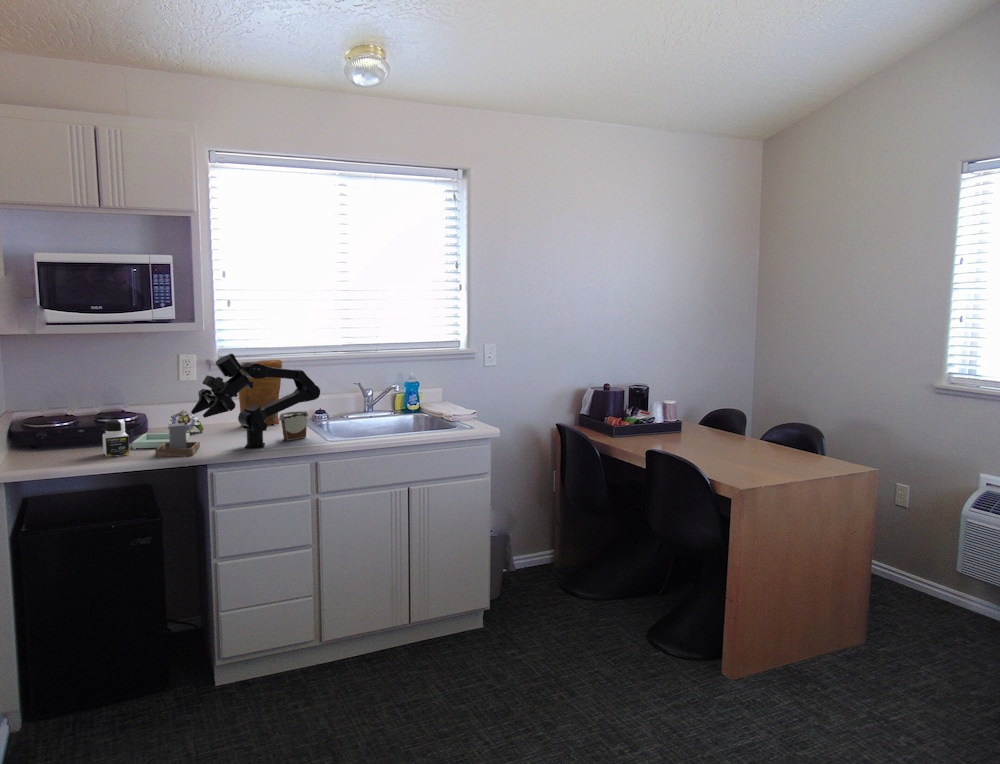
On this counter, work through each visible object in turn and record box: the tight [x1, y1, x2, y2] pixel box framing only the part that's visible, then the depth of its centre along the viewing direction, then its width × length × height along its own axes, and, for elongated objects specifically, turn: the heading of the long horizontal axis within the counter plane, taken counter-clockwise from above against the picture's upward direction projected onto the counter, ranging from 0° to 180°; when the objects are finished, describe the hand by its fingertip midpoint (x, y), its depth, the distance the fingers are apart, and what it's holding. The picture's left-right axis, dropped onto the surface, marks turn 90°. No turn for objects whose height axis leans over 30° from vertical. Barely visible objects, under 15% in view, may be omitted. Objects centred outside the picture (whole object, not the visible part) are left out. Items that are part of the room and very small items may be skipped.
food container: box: [278, 410, 309, 442], centre depth 285 cm, size 12×6×10 cm, turn 146°
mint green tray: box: [131, 432, 191, 450], centre depth 271 cm, size 16×16×3 cm
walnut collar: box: [154, 441, 201, 457], centre depth 258 cm, size 12×12×2 cm
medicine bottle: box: [102, 419, 130, 457], centre depth 253 cm, size 7×7×12 cm
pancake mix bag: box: [237, 359, 283, 427], centre depth 310 cm, size 7×19×28 cm, turn 124°
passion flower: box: [167, 408, 204, 433], centre depth 291 cm, size 11×11×12 cm
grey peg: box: [168, 423, 187, 449], centre depth 258 cm, size 5×5×10 cm
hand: (197, 414), depth 254 cm, fingers open, 9 cm apart
